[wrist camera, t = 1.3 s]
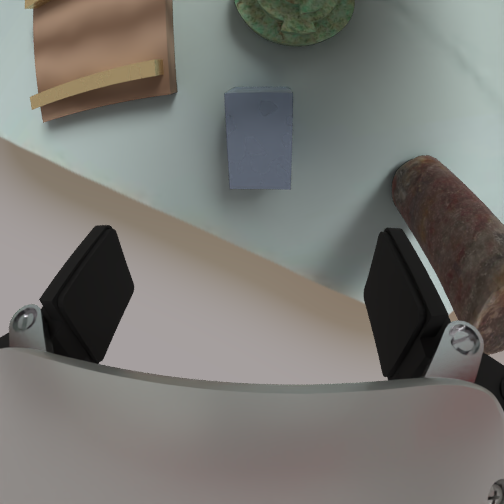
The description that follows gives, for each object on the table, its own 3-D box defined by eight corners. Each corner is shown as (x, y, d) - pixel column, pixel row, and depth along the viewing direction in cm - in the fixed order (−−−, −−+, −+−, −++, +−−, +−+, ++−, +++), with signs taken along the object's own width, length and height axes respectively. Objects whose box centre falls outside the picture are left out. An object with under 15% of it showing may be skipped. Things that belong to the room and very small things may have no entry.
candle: (395, 221, 31) (467, 371, 15) (376, 167, 28) (476, 313, 12) (448, 198, 29) (544, 326, 12) (436, 142, 25) (565, 258, 9)
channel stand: (45, -13, 15) (23, -15, 12) (172, -62, 14) (158, -75, 10) (53, 118, 25) (32, 127, 22) (177, 91, 24) (162, 96, 21)
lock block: (234, 87, 24) (224, 93, 19) (288, 86, 24) (292, 92, 19) (237, 164, 29) (229, 188, 24) (287, 165, 29) (290, 189, 24)
